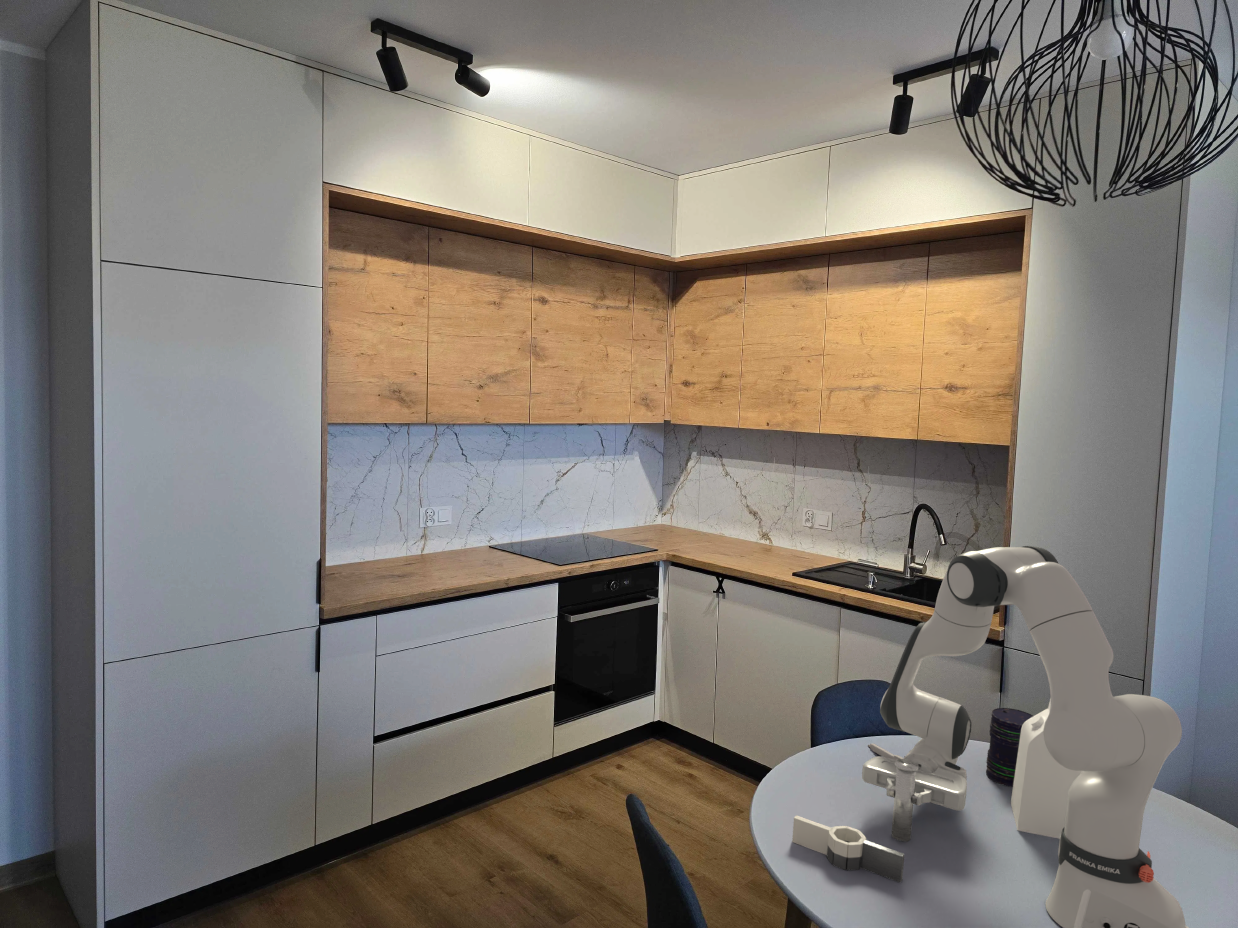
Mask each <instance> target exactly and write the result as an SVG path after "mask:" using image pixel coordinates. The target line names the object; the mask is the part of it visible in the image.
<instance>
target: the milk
mask: <svg viewBox="0 0 1238 928" xmlns="http://www.w3.org/2000/svg"><path fill="white" fill-rule="evenodd" d="M1050 707H1051V697H1050V698H1049V702H1048V706H1047V708H1045V709H1044V710H1042V711H1040V712H1039V713H1037V714H1035V715H1033V717H1031V718H1030V719H1028V720H1027V721H1025V722H1024V724H1023V725H1022V728H1021V734H1020V741H1019V748H1018V756H1017V763H1016V770H1015V777H1014V784H1013V787H1012V791H1011V792H1012V793H1011V798H1010V799H1011V800H1010V806H1011V811H1012V814H1013V818H1014V823H1015V826H1016V830H1017V831H1018V832H1023V833H1024V832H1025V833H1029V834H1034V835H1038V836H1043V837H1049V838H1053V839H1058V840H1060V835H1061V832H1062V829H1063V828H1064V827H1065V819H1066V810H1067V801H1068V792H1069V789H1070V786H1071V785H1072V783H1073V781H1074V780H1075V779H1076V778H1077V777H1078V776H1079V775H1080V774H1081V772H1082V771H1075V770H1070V769H1067V768H1065V767H1063V766H1062V765H1060V764H1059V763H1058V762H1057V761H1056V760H1055V759H1054V758H1053V757H1052V756H1051V754H1050V753H1049V751H1048V749H1047V747H1046V744H1045V741H1044V735H1043V729H1044V724H1045V722H1046V719H1047V718H1048V715H1049V712H1050Z"/></svg>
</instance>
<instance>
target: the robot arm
mask: <svg viewBox="0 0 1238 928" xmlns="http://www.w3.org/2000/svg"><path fill="white" fill-rule="evenodd" d="M934 606H935V607H934V611H933V613H932V616H931V617H930V618H929V619H928V620H927V621H923V622H920V623H918V625H917V626H916V627H915V628H914V629H913V631H912V633H911V634H910V636H909V638H908V640H907V643H906V645H905V647H904V650H903V652H902V654H901V656H900V659H899V662H898V665H897V667H896V669H895V672H894V674H893V677H892V679H891V682H890V684H889V686H888V688H887V690H886V691H885V693H884V694H883V697H882V699H881V702H880V706H879V707H880V709H879V713H880V715H881V717H882V719H883V721H884V722H885V724H886V725H887V726H888V728H891V729H894V730H898V731H899V732H900V731H901V732H904V733H905V732H906V733H908V734H911V735H914V736H916V737H918V738H920V739H919V741H917V743H915V744H914V747H913V748H912V749H910V750H909V751H908V753H907V754H906V755H905V757H903V758H904V759H907V760H911V761H914V762H916V763H917V764H918V766H919V767H918V771H916V777H915V790H914V794H913V796H912V799H913V800H912V804H913V805H915V806H919V807H920V806H921V805H922V804H926V803H927V804H928V803H931V804H935V805H938V806H940V807H943V808H947V809H951V810H954V811H957V812H958V811H963V810H964V809H965V806H966V801H967V790H968V789H967V787H968V782H967V779H968V778H967V777H968V776H967V769H965V768H964V767H961V766H960V765H957V763H958V759H959V757H960V756H961V755H963V753H964V752H965V751H966V749H967V746H968V743H969V740H970V737H971V733H972V720H971V718H970V717H971V716H970V714H969V713H968V711H967V710H966V707H965V706H964V705H962V704H960V703H957V702H955V701H952V700H949V699H946V698H944V697H940V696H937V695H935V694H932V693H929V692H927V691H924V690H921V689H919V688H917V686H915V685H914V682H915V678H916V676H917V674H918V672H919V669H920V666H921V664H922V662H923V660H924V659H926V658H931V657H960V656H964V655H969V654H971V653H973V652H976V651H977V650H979V649H980V648H981V647H982V646H984V645H985V643H986V640H987V638H988V635H989V634H990V633H989V632H990V630H991V626H992V621H993V615H994V610H995V607H998V606H1015V607H1016V608H1017V609H1018V610H1019V611H1020V613H1021V615H1022V617H1023V619H1024V621H1025V624H1026V627H1027V628H1028V631H1029V633H1030V635H1031V636H1030V637H1031V638H1032V640H1033V643H1034V644H1035V647H1036V649H1037V652H1038V654H1039V657H1040V659H1041V661H1042V663H1043V667H1044V669H1045V672H1046V675H1047V679H1048V684H1049V685H1048V686H1049V691H1050V692H1049V693H1050V698H1051V707H1050V712H1049V715H1048V718H1047V719H1046V722H1045V724H1044V729H1043V735H1044V741H1045V744H1046V747H1047V749H1048V751H1049V753H1050V754H1051V756H1052V757H1053V758H1054V759H1055V760H1056V761H1057V762H1058V763H1059V764H1060V765H1062V766H1063V767H1065V768H1067V769H1070V770H1075V771H1082V772H1081V774H1080V775H1079V776H1078V777H1077V778H1076V779H1075V780H1074V781H1073V783H1072V785H1071V786H1070V789H1069V792H1068V801H1067V810H1066V819H1065V827H1064V828H1063V829H1062V832H1061V835H1060V839H1058V840H1059V841H1058V850H1057V851H1058V852H1057V857H1058V858H1057V860H1058V868H1057V871H1056V874H1055V879H1054V882H1053V885H1052V888H1051V890H1050V893H1049V895H1048V896H1047V898H1046V900H1045V908H1046V911H1047V913H1048V915H1049V916H1050V918H1051V919H1053V920H1054V922H1056V924H1058V925H1059V926H1060V927H1062V928H1190V927H1189V926H1188V925H1186V919H1185V914H1184V911H1183V908H1182V907H1181V904H1180V902H1179V901H1178V899H1177V898H1176V897H1175V896H1174V895H1173V894H1172V893H1170V892H1169V891H1168V890H1167V889H1166V888H1165V887H1164V886H1163V885H1162V884H1161V883H1160V882H1159V881H1157V880H1156V879H1155V878H1154V876H1155V875H1154V874H1155V872H1154V870H1153V861H1152V859H1151V853H1150V851H1147V852H1146V853H1147V854H1146V853H1145V852H1144V851H1143V850H1142V849H1141V848H1140V842H1141V836H1142V827H1143V821H1144V814H1145V810H1146V805H1147V803H1148V799H1149V797H1150V795H1151V792H1152V790H1153V787H1154V786H1155V783H1156V780H1157V778H1158V776H1159V773H1160V772H1161V769H1162V767H1163V766H1164V763H1165V762H1166V760H1167V758H1168V757H1169V755H1170V754H1172V752H1173V751H1174V750H1175V749H1176V748H1177V747H1178V746H1179V744H1180V742H1181V739H1182V736H1183V729H1182V724H1181V723H1182V722H1181V720H1180V718H1179V716H1178V714H1177V713H1176V711H1175V710H1174V708H1172V707H1171V705H1169V704H1168V703H1167V702H1165V701H1164V700H1163V699H1161V698H1157V697H1155V696H1149V695H1144V694H1136V693H1135V694H1133V693H1126V694H1121V695H1115V696H1114V695H1113V693H1112V690H1111V686H1110V680H1109V670H1110V667H1111V665H1112V664H1113V661H1114V651H1113V647H1112V646H1111V644H1110V642H1109V640H1108V639H1107V636H1106V634H1105V632H1104V630H1103V627H1102V626H1101V624H1100V621H1099V620H1098V618H1097V616H1096V614H1095V612H1094V610H1093V608H1092V606H1091V604H1090V603H1089V600H1088V598H1087V597H1086V595H1085V593H1084V592H1083V590H1082V589H1081V587H1080V585H1079V584H1078V583H1077V581H1076V580H1075V579H1074V577H1073V576H1072V574H1071V573H1070V572H1069V570H1068V569H1067V568H1066V567H1065V566H1063V565H1062V564H1060V563H1059V562H1058V559H1056V556H1054V554H1053V553H1052V552H1051V551H1049V550H1047V549H1045V548H1042V547H1040V546H1033V545H1025V546H1021V547H1019V546H1018V547H1017V546H1007V547H1005V546H1004V547H1003V546H997V547H991V548H990V547H989V548H983V549H980V550H970V551H967V552H966V551H965V552H963V553H961V554H959V555H957V556H955V557H954V558H953V559H951V560H950V562H949V564H948V567H947V570H946V573H945V575H944V577H943V579H942V582H941V585H940V588H939V590H938V593H937V597H936V601H935V605H934ZM895 761H896V760H893V759H889V758H886V757H883V756H881V755H879V756H877V755H876V756H874V757H872V758H870V759H868V760H867V761H866V762H864V763H863V764H862V770H861V778H862V781H863V782H864V783H867V784H870V785H873V786H876V787H879V788H883V789H886V794H885V795H886V796H887V797H890V798H893V799H894V796H895V783H896V770H897V768H896V767H895Z"/></svg>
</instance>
